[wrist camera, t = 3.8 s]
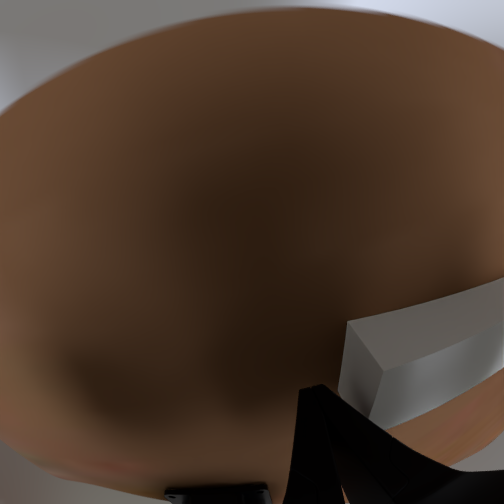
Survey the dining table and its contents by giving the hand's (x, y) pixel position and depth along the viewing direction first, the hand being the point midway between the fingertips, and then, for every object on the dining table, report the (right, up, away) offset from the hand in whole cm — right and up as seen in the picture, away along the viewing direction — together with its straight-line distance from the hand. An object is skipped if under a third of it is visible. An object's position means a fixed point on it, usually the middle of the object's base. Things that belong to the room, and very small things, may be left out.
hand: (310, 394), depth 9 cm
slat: (+7, +2, +2) cm, 8 cm away
